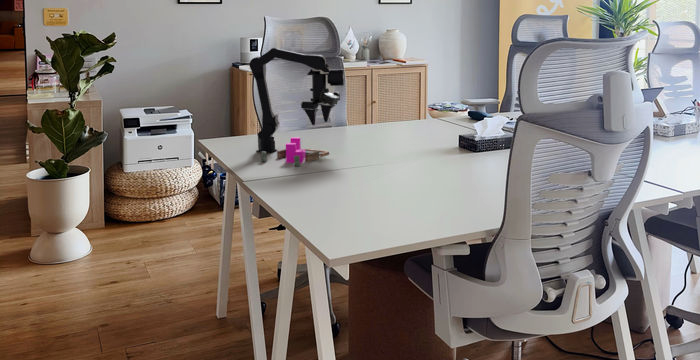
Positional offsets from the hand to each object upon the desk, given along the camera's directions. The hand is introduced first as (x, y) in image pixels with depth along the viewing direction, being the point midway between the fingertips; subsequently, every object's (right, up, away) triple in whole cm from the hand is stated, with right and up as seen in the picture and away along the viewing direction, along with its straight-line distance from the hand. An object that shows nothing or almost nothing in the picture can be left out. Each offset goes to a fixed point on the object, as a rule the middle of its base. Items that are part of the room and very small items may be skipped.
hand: (319, 123), depth 305 cm
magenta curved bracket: (-9, -15, -10) cm, 21 cm away
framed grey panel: (-8, -15, -10) cm, 20 cm away
